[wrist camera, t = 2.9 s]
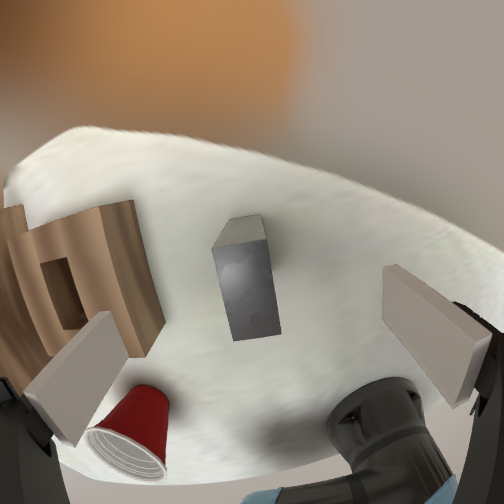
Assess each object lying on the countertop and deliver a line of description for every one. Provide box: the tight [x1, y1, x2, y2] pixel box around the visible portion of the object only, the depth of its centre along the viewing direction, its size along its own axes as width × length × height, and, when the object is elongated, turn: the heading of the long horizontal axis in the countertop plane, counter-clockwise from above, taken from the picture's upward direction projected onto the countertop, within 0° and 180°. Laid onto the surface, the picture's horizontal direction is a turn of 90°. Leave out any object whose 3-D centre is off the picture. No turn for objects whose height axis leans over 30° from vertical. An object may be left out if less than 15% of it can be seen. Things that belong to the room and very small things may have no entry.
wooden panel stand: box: [0, 200, 166, 397], centre depth 18 cm, size 20×22×22 cm
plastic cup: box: [83, 385, 169, 483], centre depth 27 cm, size 11×11×12 cm
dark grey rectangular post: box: [212, 214, 282, 341], centre depth 21 cm, size 3×6×12 cm, turn 10°
